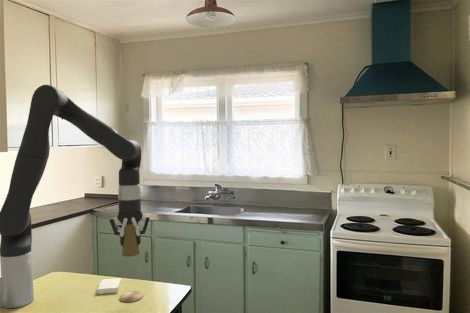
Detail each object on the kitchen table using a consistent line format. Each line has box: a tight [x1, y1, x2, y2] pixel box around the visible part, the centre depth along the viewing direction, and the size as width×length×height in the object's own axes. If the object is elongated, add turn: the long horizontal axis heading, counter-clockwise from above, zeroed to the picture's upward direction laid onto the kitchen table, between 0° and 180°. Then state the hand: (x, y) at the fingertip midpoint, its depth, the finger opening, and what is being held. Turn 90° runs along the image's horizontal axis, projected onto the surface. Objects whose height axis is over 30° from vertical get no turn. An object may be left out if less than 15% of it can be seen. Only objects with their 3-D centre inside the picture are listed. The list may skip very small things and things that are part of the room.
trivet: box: [119, 290, 145, 303], centre depth 129 cm, size 8×8×1 cm
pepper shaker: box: [121, 224, 140, 258], centre depth 129 cm, size 6×6×11 cm
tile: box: [97, 277, 123, 295], centre depth 137 cm, size 7×2×9 cm
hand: (130, 245), depth 129 cm, fingers closed on pepper shaker, 4 cm apart
